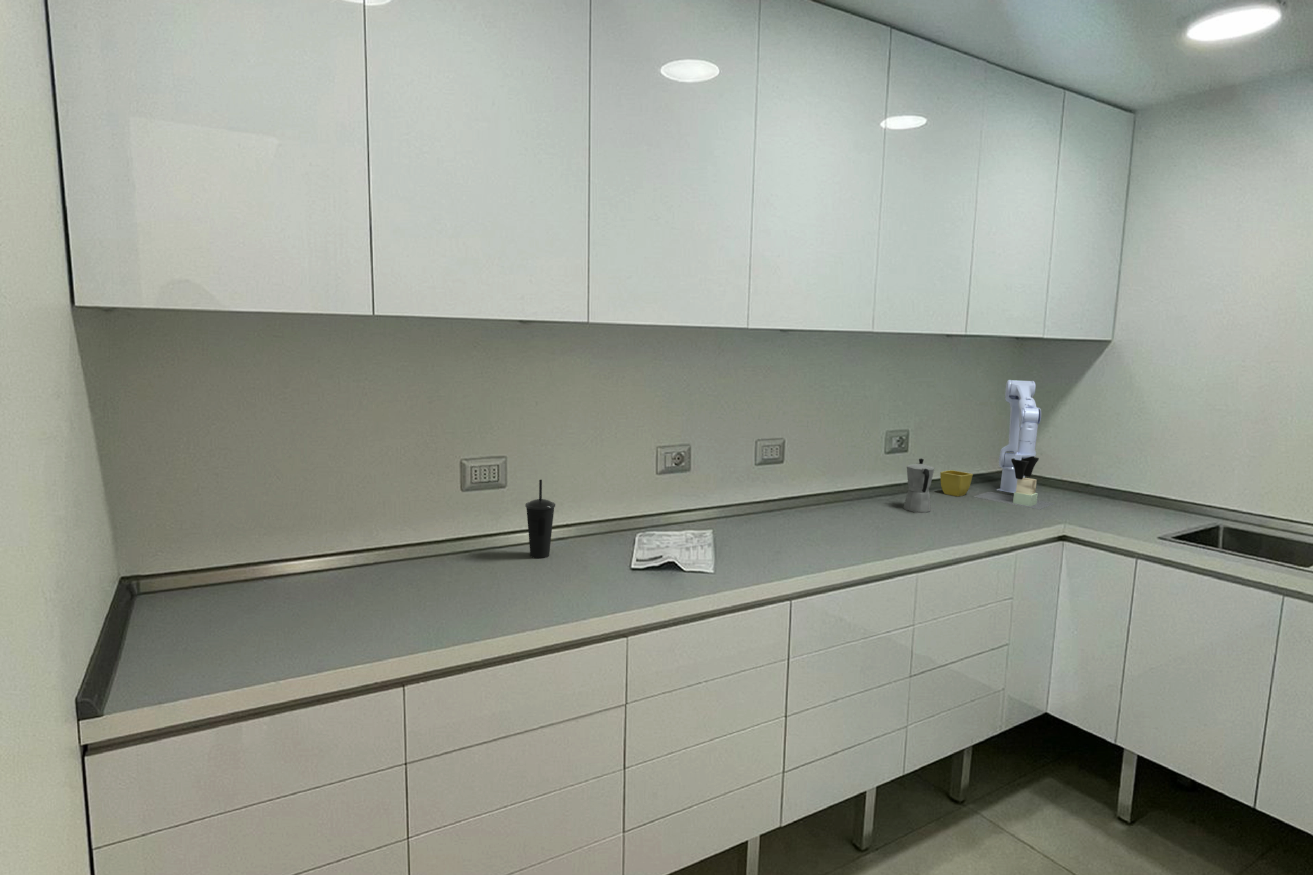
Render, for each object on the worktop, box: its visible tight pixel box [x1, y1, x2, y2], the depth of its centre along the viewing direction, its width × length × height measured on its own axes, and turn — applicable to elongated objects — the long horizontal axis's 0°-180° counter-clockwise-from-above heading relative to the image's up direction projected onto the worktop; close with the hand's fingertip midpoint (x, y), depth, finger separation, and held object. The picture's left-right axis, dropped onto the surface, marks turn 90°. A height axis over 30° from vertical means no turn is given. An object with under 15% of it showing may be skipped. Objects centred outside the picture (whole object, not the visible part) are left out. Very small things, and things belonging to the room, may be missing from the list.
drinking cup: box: [524, 479, 556, 559], centre depth 185 cm, size 8×8×20 cm
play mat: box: [972, 491, 1056, 510], centre depth 269 cm, size 15×24×1 cm, turn 43°
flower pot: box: [939, 469, 974, 497], centre depth 275 cm, size 9×9×9 cm
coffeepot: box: [903, 458, 936, 513], centre depth 249 cm, size 15×9×18 cm, turn 175°
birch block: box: [1016, 477, 1038, 495], centre depth 263 cm, size 5×5×5 cm
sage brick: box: [1013, 492, 1039, 506], centre depth 263 cm, size 6×6×4 cm
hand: (1023, 477), depth 264 cm, fingers open, 7 cm apart
